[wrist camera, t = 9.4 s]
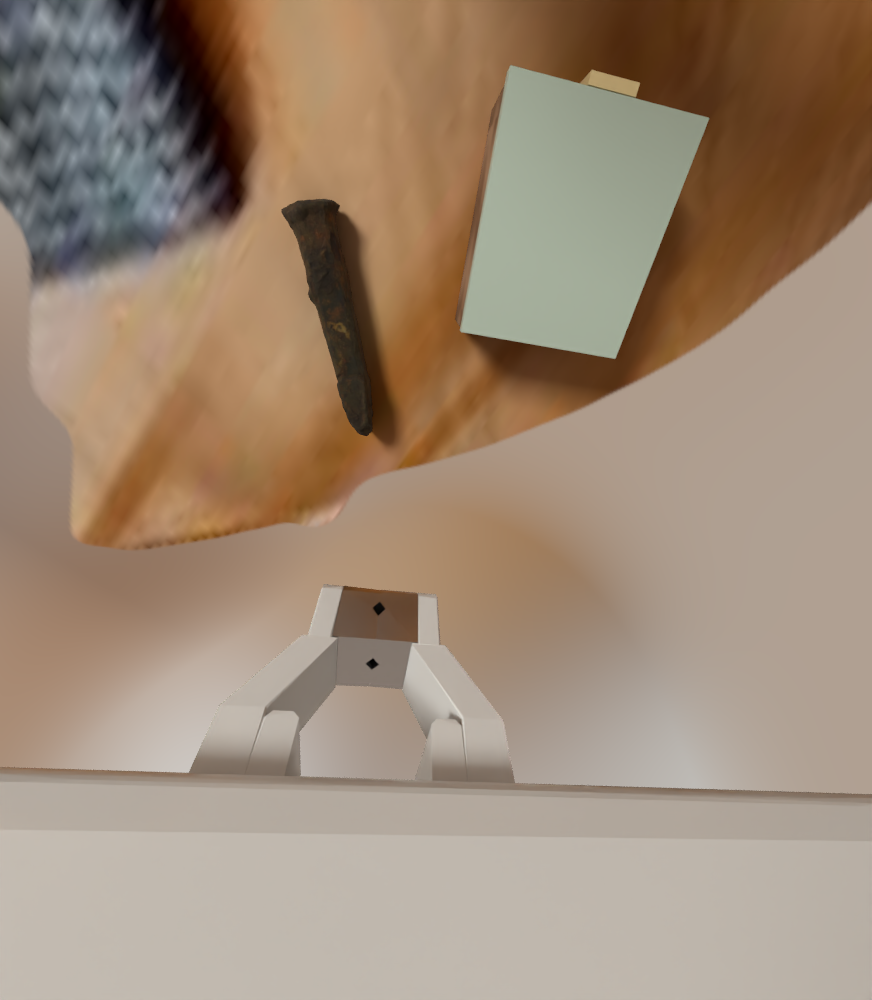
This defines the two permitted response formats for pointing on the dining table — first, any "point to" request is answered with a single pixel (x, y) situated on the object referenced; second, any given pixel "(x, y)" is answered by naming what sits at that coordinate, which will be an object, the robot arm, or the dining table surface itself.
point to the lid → (574, 209)
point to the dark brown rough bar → (333, 303)
